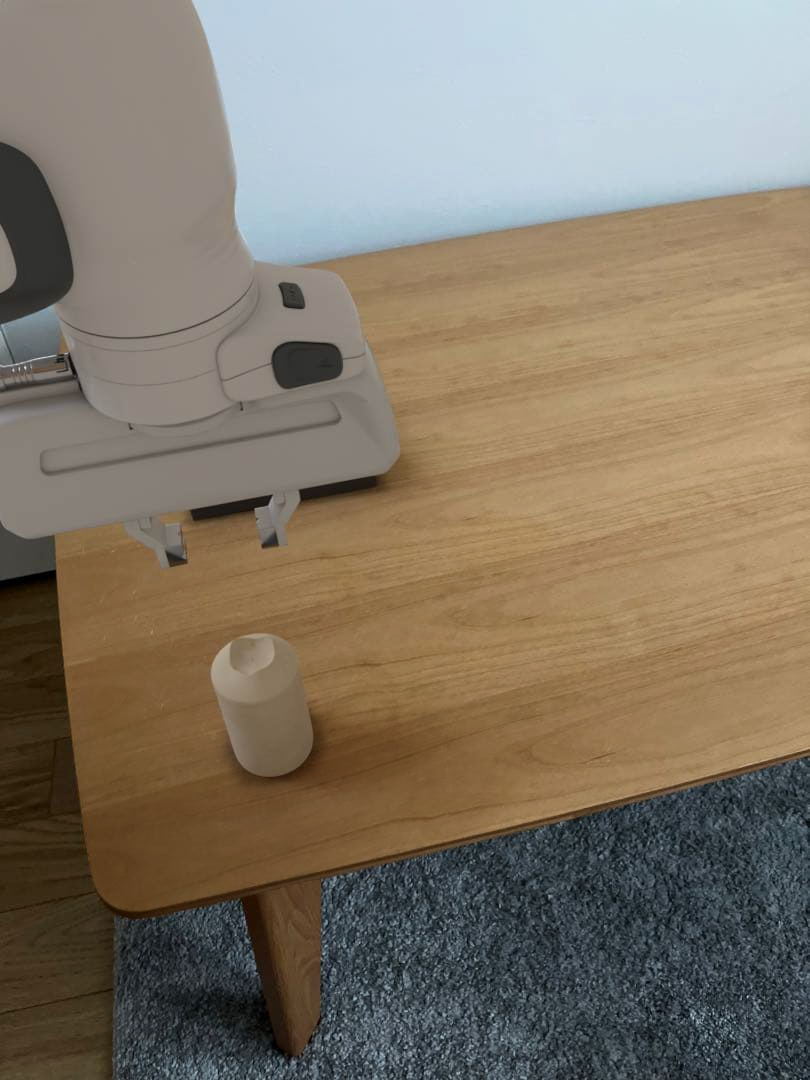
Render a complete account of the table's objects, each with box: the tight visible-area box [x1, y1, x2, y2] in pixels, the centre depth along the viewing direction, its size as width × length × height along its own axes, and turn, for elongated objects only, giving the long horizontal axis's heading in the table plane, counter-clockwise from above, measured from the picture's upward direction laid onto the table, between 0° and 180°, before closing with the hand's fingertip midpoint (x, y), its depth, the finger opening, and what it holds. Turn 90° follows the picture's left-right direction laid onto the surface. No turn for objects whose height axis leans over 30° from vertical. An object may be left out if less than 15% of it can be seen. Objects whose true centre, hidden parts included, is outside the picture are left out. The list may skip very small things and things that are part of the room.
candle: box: [210, 632, 314, 778], centre depth 66 cm, size 6×6×10 cm
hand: (224, 549), depth 56 cm, fingers open, 4 cm apart
